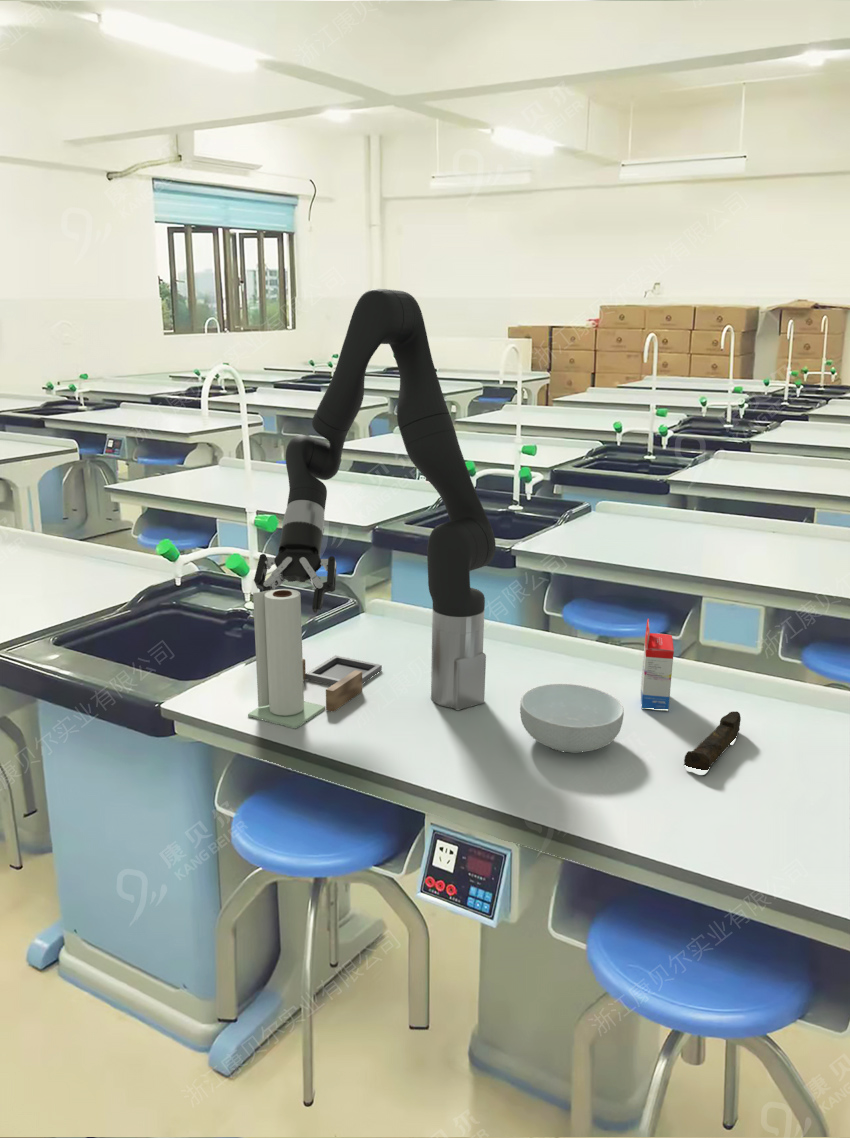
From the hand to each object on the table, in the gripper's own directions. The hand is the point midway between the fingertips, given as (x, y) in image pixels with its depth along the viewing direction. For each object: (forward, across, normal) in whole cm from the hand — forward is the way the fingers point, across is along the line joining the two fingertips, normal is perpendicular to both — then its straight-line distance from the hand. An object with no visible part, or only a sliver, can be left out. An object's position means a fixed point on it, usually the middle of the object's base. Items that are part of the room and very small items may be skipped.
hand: (291, 609), depth 162 cm
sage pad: (+16, 0, +9) cm, 18 cm away
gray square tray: (+3, +7, +21) cm, 22 cm away
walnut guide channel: (+10, +3, +14) cm, 18 cm away
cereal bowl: (+20, +48, +5) cm, 53 cm away
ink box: (+8, +65, +17) cm, 68 cm away
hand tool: (+21, +72, +4) cm, 75 cm away
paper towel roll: (+15, -1, +9) cm, 18 cm away
